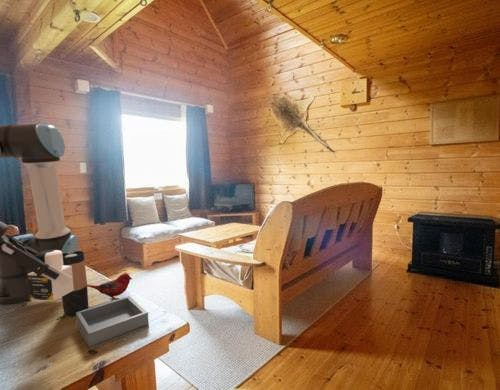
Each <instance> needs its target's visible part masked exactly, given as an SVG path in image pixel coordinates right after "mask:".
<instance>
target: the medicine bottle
mask: <svg viewBox="0 0 500 390" xmlns="http://www.w3.org/2000/svg"><path fill="white" fill-rule="evenodd" d="M35 257H36V258H38V259H39V260H41V261H42V262H44V263H45V264H48V266H49V265H51V266H52V267H54V268H56V269H58V270H59V271H61V272H63V273H65V274H66V275H68V276H70V277H72V279H71V281H70V282H69V283H68V284H67V285H66V287H63V286H61V285H59V284H57V283H55V282H53V281H52V280H50V279H48V278H46V277H44V276H42V275H41V276H40V277H37V274H36V273H34V272H31V273H28V284H29V293H30V299H29V300H30V301H38V302H39V301H41V302H55V301H57V300H60V298H61V299H62V296H64V295H66V294H68V293H70V292H72V291H73V290H74V286H73V275H72V266H65V265H63V256H62V252H61V251H60V250H47V251H42V252H40V253H38V254H36V255H35ZM40 267H41V266H40ZM40 267H39V268H40ZM39 268H38V269H39Z"/></svg>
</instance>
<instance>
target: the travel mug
mask: <svg viewBox="0 0 500 390" xmlns="http://www.w3.org/2000/svg"><path fill="white" fill-rule="evenodd" d="M62 256H63V265H65V266H72V275H73V286H74V290H73V291H72V292H70V293H68V294H66V295H64V296H62V297H61V299H62V300H61V302H62V308H63V313H64V316H65V317H67V318H74V317H76V312H79V311H82V310H85V309H89V292H88V286H87V285H88V281H87V280H88V279H87V272H86V271H87V269H86V263H85V262H86V261H85V253H84V251H82V250H78V251H75V252H74V253H71V254H67V253H63V254H62Z"/></svg>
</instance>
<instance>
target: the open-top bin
mask: <svg viewBox="0 0 500 390" xmlns="http://www.w3.org/2000/svg"><path fill="white" fill-rule="evenodd" d="M75 320H76V326H77V329H78V330H79V332H80V335H82V337H83V339H84V341H85V343H86V345H87V346H88V348H89V350H93V349H96V348H98V347H100V346H103V345H106V344H108V343H111V342H114V341H116V340H119V339H121V338H124V337H126V336H128V335H131V334H134V333H136V332H139V331H142V330H144V329H146V328H150V324H149V312H148V311H147V310H146V309H144V308H143V307H142V305H140V304H139V303H138V302H137V301H135V299H133V298H132V297H131V296H130V295H128V296H125V297H122V298H119V299H118V300H111V301H109V302H105V303H101V304H98V305H95V306H92V307H88V309H85V310H82V311H79V312H76V316H75Z"/></svg>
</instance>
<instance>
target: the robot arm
mask: <svg viewBox="0 0 500 390" xmlns="http://www.w3.org/2000/svg"><path fill="white" fill-rule="evenodd" d="M65 145H66V144H65V141H64V138H63V136H62V133H61V132H60V131H59V130H58V128H56V127H55V126H54V125H51V124H42V123H38V124H36V123H34V124H3V125H0V159H13V158H14V159H19V158H20V160H21V164H22V165H24V167H25V166H26V167H27V169H28V176H29V180H30V186H31V187H30V188H31V193H32V199H33V204H34V210H35V216H36V223H37V228H38V231H37V232H36V233H35V234H33V233H26V234H25V233H24V234H20V235H17V236H16V235H15V236H12V235H11V236H10V235H9V234H6V232H7V231H8V229H9V226H8V224H6V223H4V222H2V221H1V220H0V305H10V304H17V303H22V302H25V301H29V300H30V293H29V284H28V273H31V272H34V273H36V274H37V277H40V276H41V275H42V276H44V277H46V278H48V279H50V280H52V281H53V282H55V283H57V284H59V285H61V286H63V287H66V285H67V284H68V283H69V282H70V281H71V279H72V277H70V276H68V275H66V274H65V273H63V272H61V271H59V270H58V269H56V268H54V267H52V266H51V265H49V266H48V264H45V263H44V262H42V261H41V260H39V259H38V258H36V257H35V255H36V254H38V253H40V252H42V251H47V250H60V251H61V252H62V254H63V253H67V254H71V253H74V252H75V251H79V238H78V236H77V235H75V234H72V231H71V229H70V227H67V226H66V223H65V216H64V211H63V203H62V196H61V195H62V194H61V190H60V183H59V177H58V171H57V165H58V164H59V163H60V162H61V158H62V157H63V156H64V155H65V152H66V151H65V150H66V147H65ZM5 234H6V235H5ZM40 266H41V267H40ZM39 267H40V268H39ZM38 268H39V269H38Z"/></svg>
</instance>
